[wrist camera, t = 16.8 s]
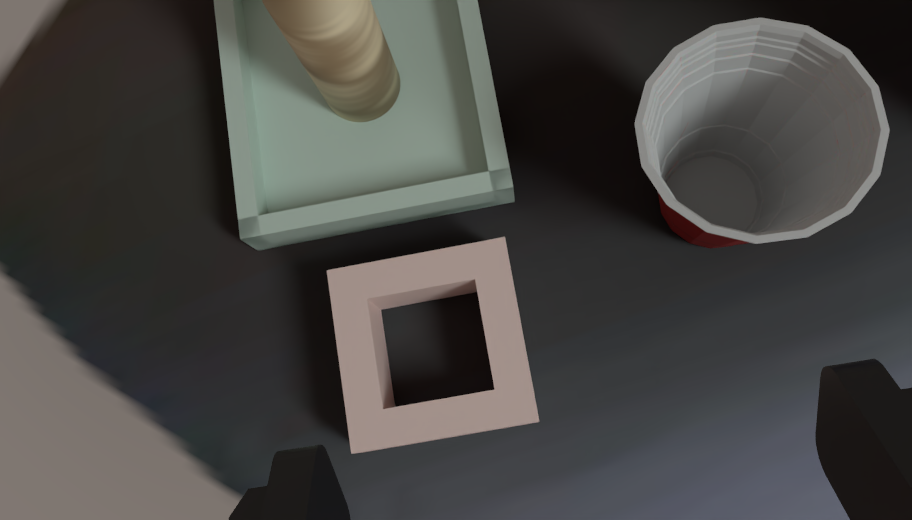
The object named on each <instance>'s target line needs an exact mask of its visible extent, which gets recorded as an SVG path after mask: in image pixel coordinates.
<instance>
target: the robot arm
mask: <svg viewBox="0 0 912 520" xmlns="http://www.w3.org/2000/svg"><path fill="white" fill-rule="evenodd" d="M816 446H817V452H818V456H819V459H820V462H821V465H822V468H823V470H824V473H825V475H826V477H827V478H828V480H829V482H830V484H831V486H832V488H833V489H834V491H835V493H836V495H837V497H838V498H839V500H840V502H841V504H842V506H843V508H844V509H845V511H846V513H847V515H848V517H849V518H850V520H912V388H908V389H900V388H899V386H898V385H897V384H896V382H895V381H894V380H893V378H892V377H891V375H890V374H889V373H888V371H887V370H886V369H885V367H884V366H883V365H882V364H881V363H880V362H879V361H877V360H876V359H870V360H864V361H857V362H851V363H845V364H838V365H832V366H826V367H824V368H823V369H822V372H821V377H820V388H819V400H818V411H817V423H816ZM229 520H350V514H349V510H348V506H347V503H346V500H345V498H344V495H343V492H342V490H341V487H340V485H339V482H338V479H337V477H336V474H335V472H334V469H333V466H332V464H331V461H330V459H329V456H328V453H327V451H326V449H325V447H324V446H323V445H315V446H309V447H303V448H296V449H290V450H284V451H278V452H276V454H275V456H274V458H273V462H272V466H271V471H270V476H269V481H268V485H267V486H264V487H258V488H251V489H248V490H247V492H246V493H245V495H244V496H243V498H242V499H241V500H240V502H239V503H238V505H237V506H236V508H235V509H234V511H233V513H232V514H231V515H230V517H229Z"/></svg>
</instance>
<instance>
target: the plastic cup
mask: <svg viewBox="0 0 912 520" xmlns="http://www.w3.org/2000/svg"><path fill="white" fill-rule="evenodd" d="M634 124H635V131H636V137H637V143H638V149H639V155H640V161H641V167H642V168H643V170H644V171H645V173H646V174H647V176H648V177H649V179H650V180H651V182H652V183H653V185H654V186H655V188H656V190H657V191H658V196H659V202H660V208H661V214H662V215H663V217H664V218H665V220H666V222H667V223H668V225H669V226H670V228H671V230H672V231H673V232H675V233H676V234H677V235H679V236H680V237H682V238H683V239H684V240H686V241H687V242H689V243H691V244H695V245H699V246H703V247H706V248H718V247H726V246H733V245H738V244H746V243H753V244H759V243H766V242H774V241H782V240H789V239H797V238H805V237H809V236H810V235H812V234H814V233H816V232H818V231H819V230H821V229H823V228H825V227H827V226H829V225H830V224H832V223H834V222H836V221H838V220H839V219H841V218H843V217H845V216H847V215H848V214H850V213H852V211H853V210H854V209H855V207H856V206H857V205H858V203H859V202H860V201H861V200H862V198H863V197H864V196H865V194H866V193H867V192H868V190H869V189H870V188H871V186H872V185H873V184H874V183H875V181H876V180H877V179H878V177H879V176H880V174H881V169H882V164H883V160H884V155H885V150H886V145H887V141H888V136H889V131H890V130H889V126H888V122H887V118H886V114H885V110H884V106H883V102H882V98H881V94H880V90H879V86H878V85H877V84H876V82H875V81H874V80H873V78H872V77H871V76H870V75H869V73H868V72H867V71H866V70H865V68H864V67H863V66H862V65H861V63H860V62H859V61H858V60H857V58H856V57H855V56H854V55H853V53H852V52H851V51H850V50H849V49H848V48H846V47H844V46H842V45H841V44H839V43H837V42H836V41H834V40H832V39H830V38H829V37H827V36H825V35H823V34H822V33H820V32H818V31H816V30H815V29H813V28H811V27H809V26H807V25H801V24H795V23H789V22H783V21H778V20H772V19H766V18H754V19H748V20H742V21H736V22H730V23H724V24H719V25H713V26H711V27H710V28H708V29H706V30H704V31H702V32H701V33H699V34H697V35H695V36H694V37H692V38H690V39H688V40H687V41H685V42H683V43H681V44H679V45H678V46H676V47H674V48H673V49H672V50H671V51H670V53H669V54H668V55H667V56H666V58H665V59H664V60H663V61H662V63H661V64H660V65H659V66H658V68H657V69H656V70H655V71H654V73H653V74H652V75H651V76H650V77H649V79H648V80H647V81H646V83H645V87H644V90H643V94H642V97H641V101H640V105H639V108H638V112H637V116H636V119H635V123H634Z"/></svg>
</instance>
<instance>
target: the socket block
mask: <svg viewBox="0 0 912 520" xmlns="http://www.w3.org/2000/svg"><path fill="white" fill-rule="evenodd" d="M327 277H328V284H329V292H330V299H331V307H332V314H333V321H334V329H335V336H336V344H337V351H338V359H339V366H340V373H341V381H342V388H343V396H344V403H345V411H346V418H347V425H348V433H349V440H350V448H351V454H354V453H362V452H369V451H374V450H380V449H386V448H392V447H398V446H403V445H409V444H415V443H421V442H427V441H432V440H438V439H444V438H450V437H456V436H461V435H467V434H473V433H479V432H485V431H490V430H496V429H502V428H508V427H514V426H519V425H525V424H531V423H537V422H539V417H538V412H537V406H536V401H535V396H534V390H533V385H532V380H531V374H530V369H529V364H528V358H527V353H526V348H525V342H524V337H523V332H522V326H521V321H520V316H519V310H518V305H517V299H516V294H515V289H514V283H513V278H512V273H511V267H510V262H509V257H508V251H507V246H506V241H505V237H502V238H496V239H491V240H486V241H480V242H475V243H470V244H464V245H459V246H454V247H448V248H443V249H438V250H432V251H427V252H422V253H416V254H411V255H406V256H400V257H395V258H390V259H384V260H379V261H374V262H368V263H363V264H358V265H352V266H347V267H341V268H336V269H331V270H327ZM474 292H477V293H478V299H479V305H480V310H481V316H482V322H483V327H484V333H485V339H486V344H487V350H488V356H489V361H490V367H491V372H492V378H493V384H494V389H495V390H489V391H483V392H478V393H472V394H466V395H461V396H455V397H449V398H443V399H438V400H432V401H426V402H421V403H415V404H409V405H404V406H398V407H395V402H394V395H393V388H392V381H391V375H390V368H389V361H388V354H387V348H386V341H385V334H384V327H383V321H382V314H381V310H382V309H387V308H393V307H398V306H404V305H409V304H414V303H420V302H425V301H431V300H436V299H442V298H447V297H453V296H458V295H464V294H469V293H474Z"/></svg>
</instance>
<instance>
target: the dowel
mask: <svg viewBox="0 0 912 520" xmlns="http://www.w3.org/2000/svg"><path fill="white" fill-rule="evenodd" d="M262 2H263V4H264V5H265V7H266V9H267V10H268V12H269V13H270V15H271V17H272V18H273V20H274V21H275V23H276V24H277V26H278V27H279V29H280V31H281V32H282V34H283V35H284V37H285V38H286V40H287V41H288V43H289V44H290V46H291V48H292V49H293V51H294V52H295V54H296V55H297V57H298V58H299V60H300V62H301V63H302V65H303V66H304V68H305V69H306V71H307V72H308V74H309V76H310V77H311V79H312V80H313V82H314V83H315V85H316V86H317V88H318V89H319V91H320V93H321V94H322V96H323V97H324V99H325V100H326V102H327V103H328V105H329V107H330V108H331V109H332V111H334V112H335V113H336V114H337V115H338V116H340V117H341V118H343V119H345V120H348V121H352V122H368V121H372V120H375V119H377V118H379V117H381V116H382V115H384V114H385V113H387V112H388V111H389V110H390V109H391V107H392V106H393V105H394V103H395V102H396V100H397V98H398V95H399V92H400V76H399V72H398V70H397V67H396V65H395V62H394V59H393V57H392V54H391V52H390V49H389V47H388V44H387V42H386V39H385V36H384V34H383V31H382V29H381V26H380V24H379V21H378V18H377V16H376V13H375V11H374V8H373V6H372V3H371V1H370V0H262Z"/></svg>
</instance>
